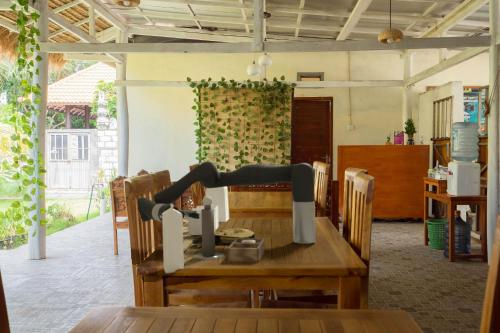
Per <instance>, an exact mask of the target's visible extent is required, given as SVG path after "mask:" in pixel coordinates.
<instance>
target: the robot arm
mask: <svg viewBox="0 0 500 333" xmlns="http://www.w3.org/2000/svg"><path fill="white" fill-rule="evenodd" d="M315 176H316V171H315V169H314V167H313V165H311V163H310V164H309V163H307V162H300V163H295V164H287V165H277V164H276V165H275V164H262V163H258V164H257V163H255V164H252V163H251V164H245V165H243V166H240V167H238V168H237V169H235V170H233V171H226V172H225V171H224V172H223V171H219V170H218V169H217V166H216V165H215V163H213V162H211V161H204V162H201V163H200V164H198V165H197V166H196V167H194V168H193V169H191V170H190V171H189V172H188V173H186V174H185V175H184V176H182V177H181V178H179V179H178V180H177V181H176V182H174V183H172V184H171V185H169V186H167V187H166V188H163V189H162V190H160V191H158V192H156V193H155V194H153V200H154V201H153V200H151V199H150V198H147V197H138V198H137V199H138V210H139V212H140V215H141V219H142V221H141V222H145V223H147V222H149V221H152V220H153V221H158V222H161V223H162V213H163V212H165V211H167V210H168V209H170V208H171V204H172V205H173V209H175V210H177V211H179V212H180V213H181V214H182V219H183V220H188V218H194V219H199V213H197V211H192V209H186V210H185V209H184V210H183V209H179V208H178V206H176V205H174V204H173V203H175V202H176V201H178V200H179V199H180V198H181V197H182V196H183V195H184V193H186V191H187V190H188V189H189V188H190V187H191V186H193V185H194V184H197V183H198V182H199V183H200V185H201V186H202V187H204V188H205V189H206V188H218V187H226V186H227V187H242V186H243V187H244V186H249V187H251V186H253V187H255V186H256V187H257V186H267V185H274V184H279V183H280V184H281V183H291V195H292V196H291V197H292V222H293V223H292V229H293V230H292V231H293V232H292V233H293V237H292V238H293V243H296V244H300V245H301V244H304V245H305V244H316V205H315V202H316V199H315V198H316V196H315Z"/></svg>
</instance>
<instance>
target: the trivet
mask: <svg viewBox="0 0 500 333" xmlns="http://www.w3.org/2000/svg"><path fill="white" fill-rule="evenodd" d="M224 256H225V255H224V253H222V252H216V251H215V256H213V257H203V255H202V252H201V253H196V254H194V255H193V258H195V259H199V260H214V259H215V260H217V259H220V258H223V257H224Z"/></svg>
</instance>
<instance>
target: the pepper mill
mask: <svg viewBox="0 0 500 333" xmlns="http://www.w3.org/2000/svg"><path fill="white" fill-rule="evenodd" d="M211 204H212V198H211V197H209V196H206V195H205V196H204V197H203V199H202V205H203V206H204V209H201V216H202V243H201V248H202V249H201V250H202V251H201V253H202V255H203V257H213V256H215V252H216V244H215V232H216V230H214V209H211Z"/></svg>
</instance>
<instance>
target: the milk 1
mask: <svg viewBox="0 0 500 333" xmlns="http://www.w3.org/2000/svg"><path fill="white" fill-rule="evenodd" d="M170 205H171V208H170V209H168V210H167V211H165V212H163V213H162V222H161V223H162V246H163V247H162V250H163V251H162V252H163V270H164V272H165V274H171V273H172V274H173V273H175V272H176V271H178V270H183V269H185V266H184V264H185V261H184V259H185V258H184V257H185V256H184V226H183V225H184V224H183V222H184V221H183V220H184V219H182V214H181V213H180V212H179V211H177V210H175V209H173V205H174V204H173V203H171V204H170Z"/></svg>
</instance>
